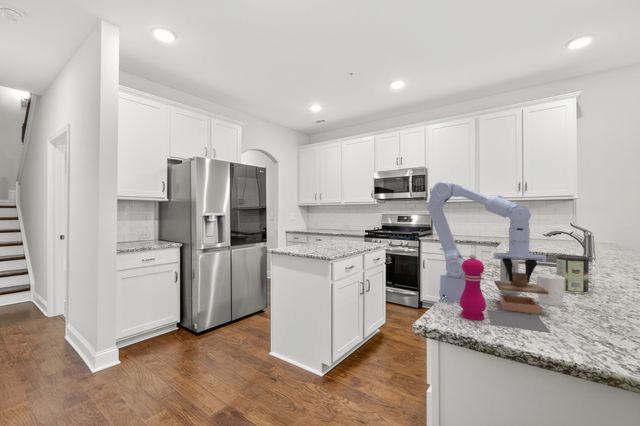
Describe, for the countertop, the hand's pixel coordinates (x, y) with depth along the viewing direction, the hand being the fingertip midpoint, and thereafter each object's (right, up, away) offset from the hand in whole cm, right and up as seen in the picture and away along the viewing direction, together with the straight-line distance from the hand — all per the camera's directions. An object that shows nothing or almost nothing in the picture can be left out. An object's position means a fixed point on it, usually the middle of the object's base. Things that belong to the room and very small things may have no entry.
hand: (518, 281), depth 100 cm
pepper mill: (-20, -10, -8) cm, 24 cm away
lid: (0, -2, -1) cm, 2 cm away
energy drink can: (+8, -9, +18) cm, 22 cm away
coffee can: (+36, -9, +22) cm, 43 cm away
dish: (0, -9, 0) cm, 9 cm away
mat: (-9, -9, -11) cm, 17 cm away
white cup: (+14, -9, +5) cm, 18 cm away
